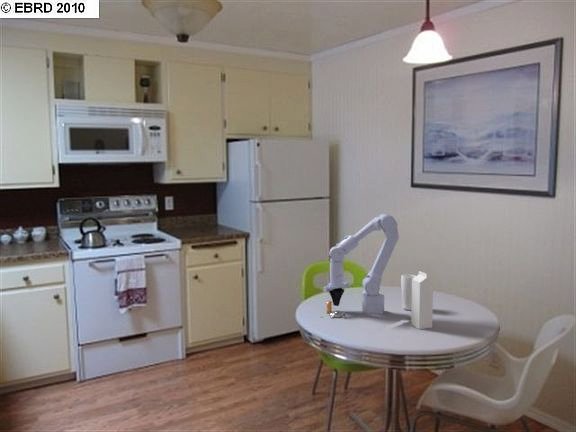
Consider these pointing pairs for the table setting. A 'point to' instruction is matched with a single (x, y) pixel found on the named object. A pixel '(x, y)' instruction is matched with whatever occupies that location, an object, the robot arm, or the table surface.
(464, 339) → the table surface
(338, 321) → the table surface
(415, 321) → the milk
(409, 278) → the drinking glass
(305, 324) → the table surface
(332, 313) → the dial
